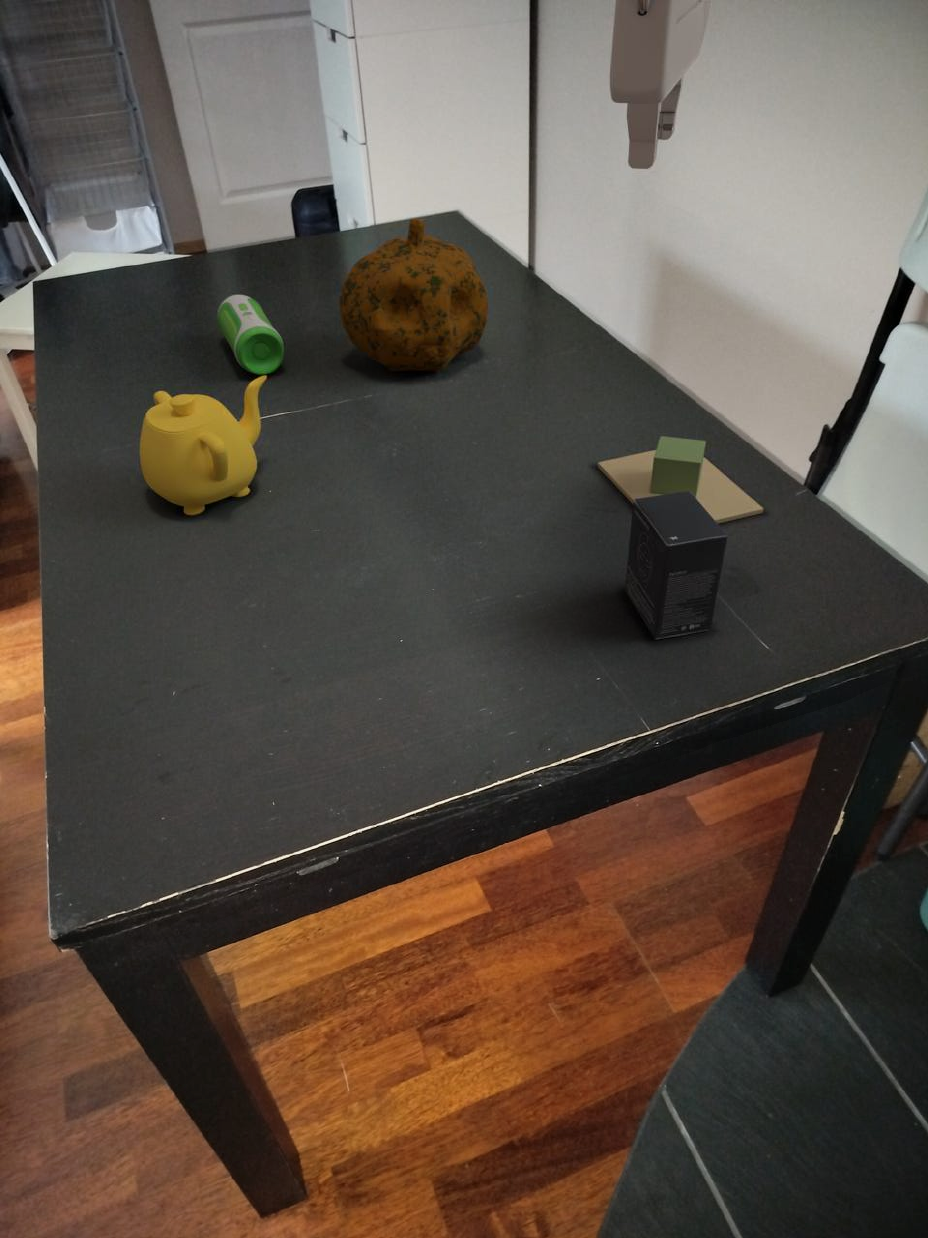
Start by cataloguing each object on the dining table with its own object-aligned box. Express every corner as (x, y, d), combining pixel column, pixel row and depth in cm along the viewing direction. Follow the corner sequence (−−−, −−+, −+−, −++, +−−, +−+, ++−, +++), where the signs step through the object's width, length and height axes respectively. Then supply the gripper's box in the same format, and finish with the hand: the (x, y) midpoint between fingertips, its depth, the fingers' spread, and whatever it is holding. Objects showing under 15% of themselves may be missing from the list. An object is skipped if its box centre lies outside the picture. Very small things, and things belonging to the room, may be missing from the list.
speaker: (291, 373, 127) (282, 323, 122) (242, 384, 125) (231, 333, 120) (265, 333, 139) (256, 286, 134) (221, 342, 137) (209, 294, 132)
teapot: (252, 524, 96) (228, 428, 88) (131, 521, 97) (97, 427, 90) (285, 461, 106) (266, 370, 99) (175, 460, 108) (148, 370, 100)
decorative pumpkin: (335, 336, 134) (328, 199, 121) (465, 330, 139) (472, 197, 126) (351, 395, 120) (345, 246, 107) (496, 386, 124) (508, 242, 111)
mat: (762, 513, 93) (763, 508, 92) (663, 537, 90) (664, 532, 90) (687, 446, 105) (687, 442, 104) (597, 466, 102) (597, 462, 102)
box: (712, 630, 78) (730, 534, 72) (653, 641, 78) (666, 545, 71) (677, 580, 84) (690, 487, 78) (622, 590, 84) (631, 497, 77)
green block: (700, 476, 98) (705, 440, 95) (695, 498, 94) (700, 462, 92) (656, 470, 99) (660, 435, 97) (649, 493, 96) (653, 457, 93)
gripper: (704, -84, 47) (675, 188, 56) (735, -92, 62) (709, 124, 71) (591, -79, 49) (581, 185, 58) (648, -88, 64) (633, 123, 73)
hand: (652, 151), depth 65 cm, fingers open, 8 cm apart
